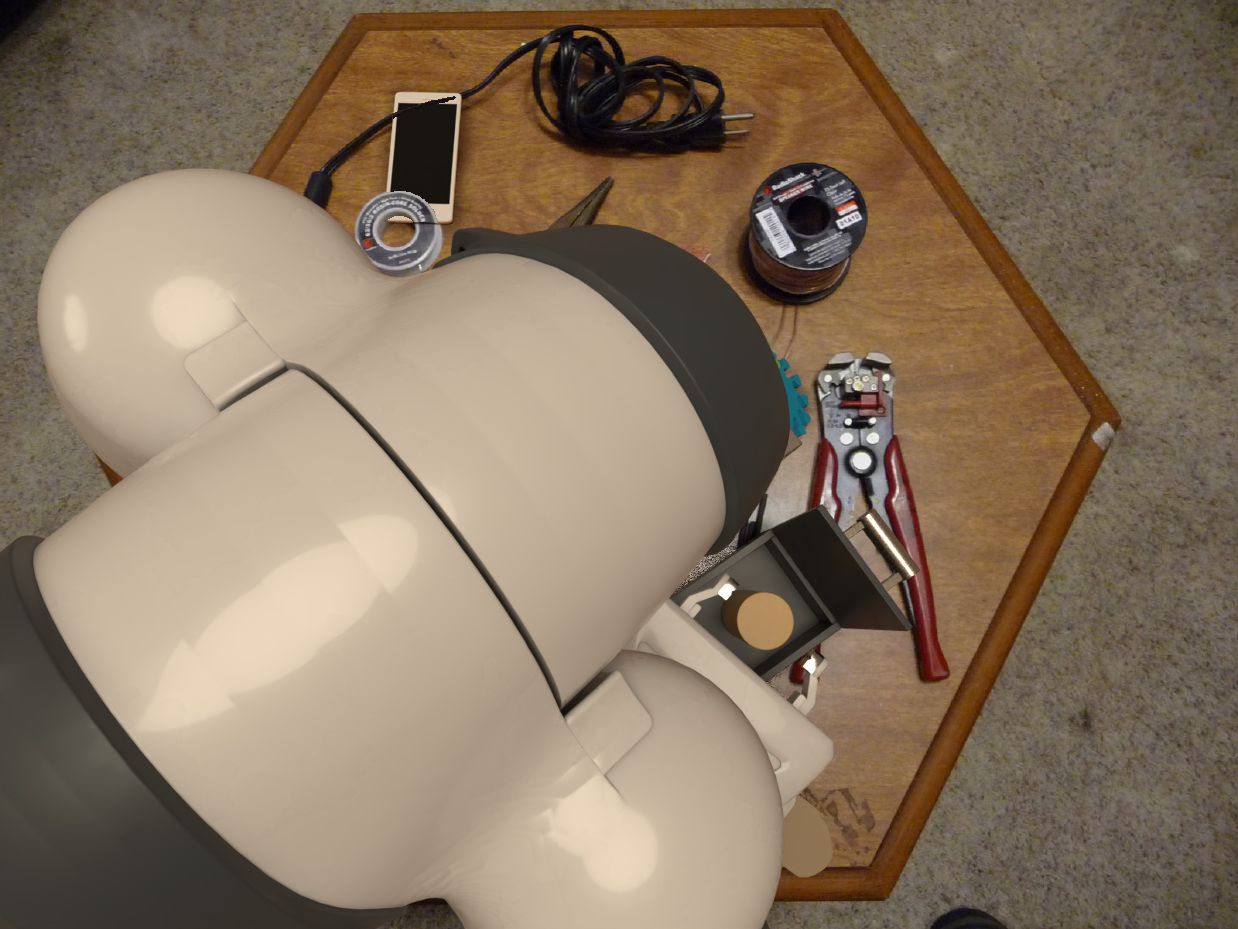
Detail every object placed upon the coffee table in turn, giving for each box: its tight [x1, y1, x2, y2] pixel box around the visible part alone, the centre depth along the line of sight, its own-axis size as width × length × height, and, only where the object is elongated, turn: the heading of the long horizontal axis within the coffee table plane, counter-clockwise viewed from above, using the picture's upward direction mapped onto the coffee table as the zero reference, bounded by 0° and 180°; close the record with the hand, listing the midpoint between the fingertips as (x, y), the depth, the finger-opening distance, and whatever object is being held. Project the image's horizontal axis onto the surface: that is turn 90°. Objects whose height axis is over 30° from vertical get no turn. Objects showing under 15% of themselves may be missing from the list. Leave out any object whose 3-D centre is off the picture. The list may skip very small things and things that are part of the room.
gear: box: [767, 340, 812, 438], centre depth 78 cm, size 11×6×10 cm
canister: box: [721, 590, 794, 650], centre depth 70 cm, size 5×5×12 cm
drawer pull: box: [771, 503, 921, 632], centre depth 65 cm, size 14×12×5 cm
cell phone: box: [385, 91, 463, 225], centre depth 85 cm, size 8×16×1 cm, turn 178°
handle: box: [782, 793, 834, 878], centre depth 67 cm, size 5×6×15 cm
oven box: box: [670, 527, 843, 683], centre depth 74 cm, size 14×12×6 cm
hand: (776, 615), depth 61 cm, fingers open, 8 cm apart
